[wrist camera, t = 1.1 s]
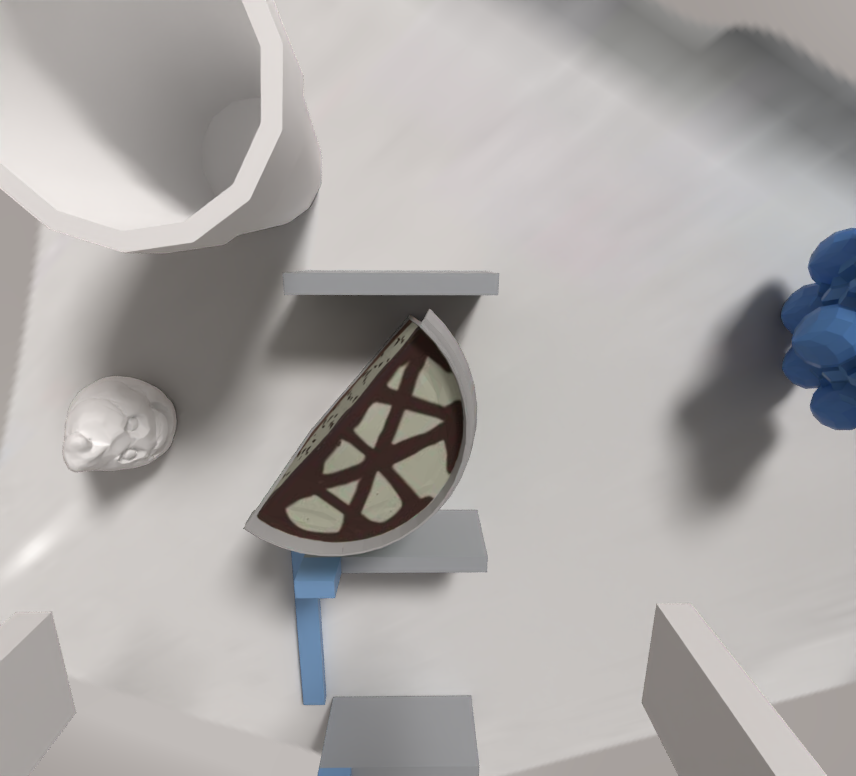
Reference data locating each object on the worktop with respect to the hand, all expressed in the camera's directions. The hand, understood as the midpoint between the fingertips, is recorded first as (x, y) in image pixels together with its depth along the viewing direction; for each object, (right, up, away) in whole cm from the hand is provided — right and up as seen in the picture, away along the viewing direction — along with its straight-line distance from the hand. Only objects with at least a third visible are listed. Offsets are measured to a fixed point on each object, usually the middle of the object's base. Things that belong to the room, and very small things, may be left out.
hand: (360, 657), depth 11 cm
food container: (0, +5, +19) cm, 19 cm away
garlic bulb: (-16, +4, +19) cm, 25 cm away
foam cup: (-7, +18, +15) cm, 25 cm away
